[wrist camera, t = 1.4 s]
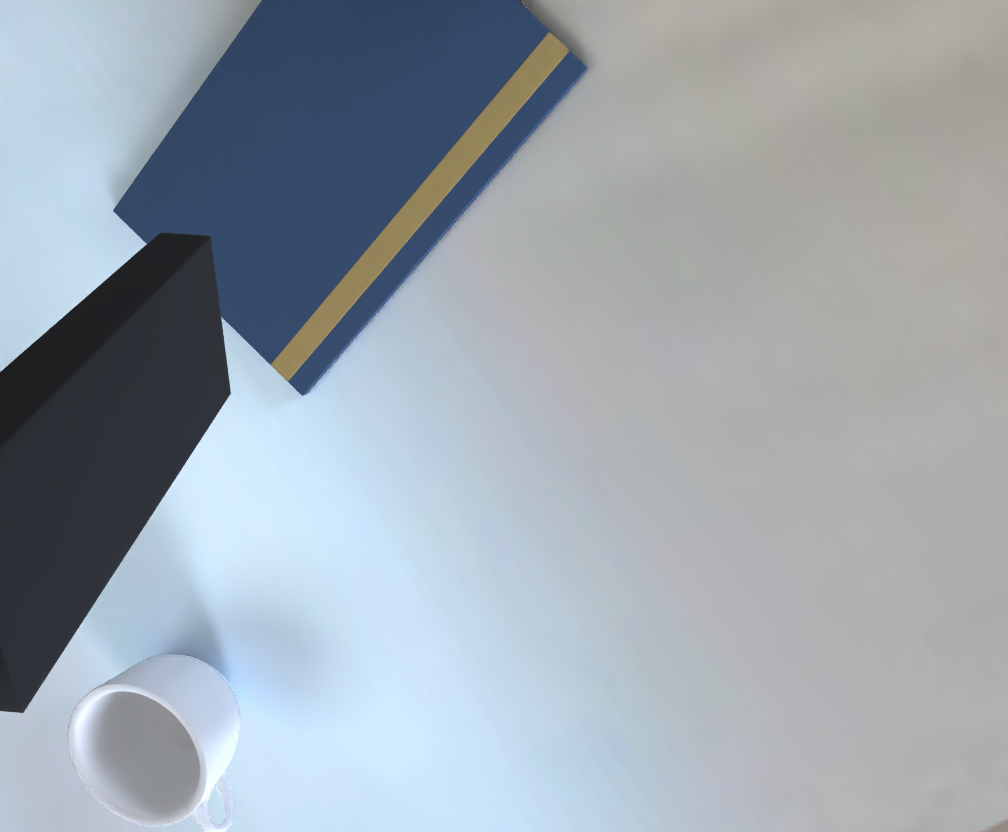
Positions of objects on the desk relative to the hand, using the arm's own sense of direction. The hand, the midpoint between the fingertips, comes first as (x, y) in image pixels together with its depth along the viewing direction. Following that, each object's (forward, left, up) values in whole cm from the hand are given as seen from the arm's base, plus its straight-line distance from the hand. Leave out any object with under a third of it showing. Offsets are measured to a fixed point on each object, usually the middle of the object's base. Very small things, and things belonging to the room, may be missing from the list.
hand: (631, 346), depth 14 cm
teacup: (+34, -1, -26) cm, 43 cm away
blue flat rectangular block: (+6, -15, -26) cm, 31 cm away
